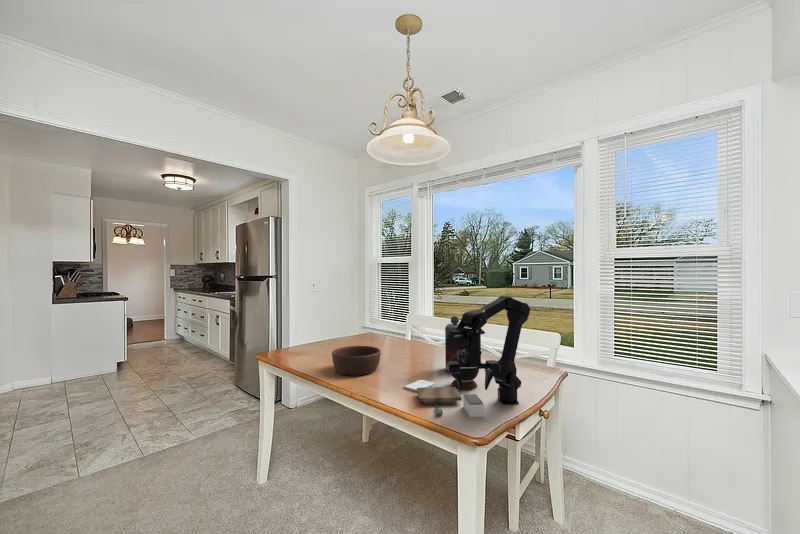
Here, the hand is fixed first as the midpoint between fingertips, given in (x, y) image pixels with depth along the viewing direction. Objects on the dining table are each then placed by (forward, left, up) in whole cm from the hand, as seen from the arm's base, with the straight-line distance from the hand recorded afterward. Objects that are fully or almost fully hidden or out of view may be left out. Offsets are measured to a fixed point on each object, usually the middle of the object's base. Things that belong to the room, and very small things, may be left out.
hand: (473, 390), depth 126 cm
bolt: (+13, 0, -8) cm, 15 cm away
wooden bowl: (+47, -55, -8) cm, 73 cm away
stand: (+11, -12, -8) cm, 18 cm away
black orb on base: (-3, -28, -8) cm, 29 cm away
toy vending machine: (-4, -52, -8) cm, 53 cm away
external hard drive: (+17, -28, -9) cm, 34 cm away
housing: (0, 0, -8) cm, 8 cm away
